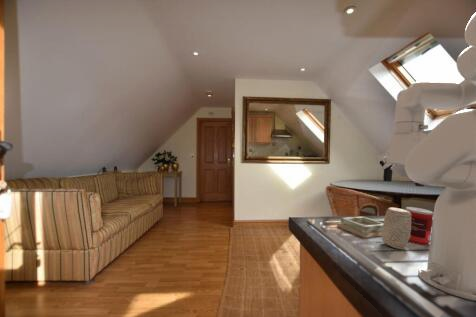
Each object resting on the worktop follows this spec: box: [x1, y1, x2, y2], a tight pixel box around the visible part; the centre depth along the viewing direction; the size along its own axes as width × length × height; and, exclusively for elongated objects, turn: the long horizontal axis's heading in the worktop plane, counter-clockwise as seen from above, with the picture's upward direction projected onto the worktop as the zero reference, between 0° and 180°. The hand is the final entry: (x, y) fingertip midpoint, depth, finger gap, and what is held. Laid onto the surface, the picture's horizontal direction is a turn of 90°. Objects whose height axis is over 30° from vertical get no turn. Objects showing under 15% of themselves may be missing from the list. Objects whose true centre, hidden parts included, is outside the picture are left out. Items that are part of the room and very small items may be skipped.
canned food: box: [405, 206, 434, 246], centre depth 83 cm, size 8×8×11 cm
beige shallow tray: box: [336, 216, 384, 239], centre depth 90 cm, size 14×12×4 cm
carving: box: [381, 206, 411, 251], centre depth 75 cm, size 6×8×12 cm
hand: (402, 183), depth 75 cm, fingers open, 9 cm apart
